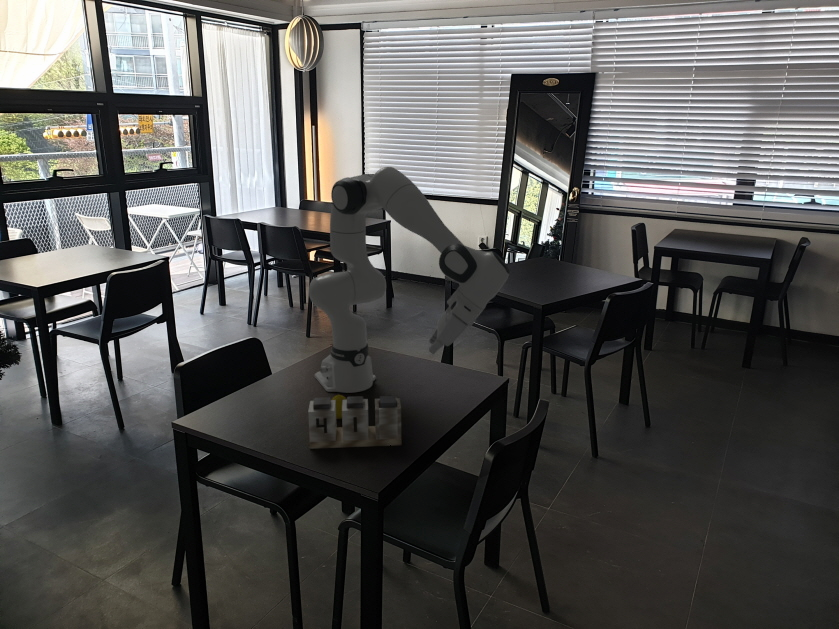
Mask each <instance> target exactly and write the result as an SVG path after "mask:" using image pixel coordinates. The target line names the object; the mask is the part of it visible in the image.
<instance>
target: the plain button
mask: <svg viewBox="0 0 839 629" xmlns="http://www.w3.org/2000/svg"><path fill="white" fill-rule="evenodd" d="M396 398H397V397H396V395H380V396H379V399H380V408H391V407H396Z"/></svg>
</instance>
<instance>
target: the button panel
mask: <svg viewBox="0 0 839 629" xmlns="http://www.w3.org/2000/svg"><path fill="white" fill-rule="evenodd" d="M395 398H396V407H391V408H380V398H374V414H375V415H374V417H375V418H374V422H375V425H370V426H369V400H368V399H369V398H364V396H361V395H359V396H347V397H346V399H347V400H343V402H342V418H341V420H342V422H341V423H342V427H341V426H340V427H339V426H338V425H337V418H336V400H332V399H331V397H330V396H328V397H327V396H326V397H314V398H313V400H310V401H309V406H308V410H307V415H308V433H309V449H311V450H312V449H337V448H360V447H362V448H363V447H387V446H388V447H389V446H390V445H391V446H403V445H402V444H403V443H402V406H401V398H400V397H395ZM337 426H338V427H337ZM391 446H390V447H391Z"/></svg>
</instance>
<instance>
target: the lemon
mask: <svg viewBox="0 0 839 629" xmlns="http://www.w3.org/2000/svg"><path fill="white" fill-rule="evenodd" d="M331 400H336V419H338V420H342V402H343V400H347V397H345V396H344V395H341V394H339V393H338V394H337V395H334V396H333V397H332V398H331Z"/></svg>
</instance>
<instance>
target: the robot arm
mask: <svg viewBox="0 0 839 629" xmlns="http://www.w3.org/2000/svg"><path fill="white" fill-rule="evenodd" d="M330 194H331V196H330V197H331V198H330V199H331V202H332V205H331V209H330V217H329V218H330V219H329V222H330V223H329V226H330V227H329V231H330V233H329V237H330V238H329V240H330V244H329V247H330V248H329V250H330V253H331V255H332V257H334V258H335V259H336V260H337V261H340V262H342V263H345V264H346V266H347V269H346V270H345V271H337V272H331V273H325V274H322V275H319V276H317V277H314V278H312V280H311V282H310V283H309V286H308V296H309V300H310V301H311V303H312V304H313V305H314V306H315V307H317V308H318V309H320V310H321V311H322V312H324V314H326V316H327V318H328V320H329V321H330V325H331V326H330V327H331V332H332V343H331V344H329V345H330V348H331V350H330V354H329V355H327V356H326V357H325V358H324V359H322V361H321V365H320V368H319V369H320V370H318V371H317V372H316V373H314V378H315V379H316V380H317V382H318V383H319V384H320V385H321V386H322V388H323V389H324V390H325V392H329V393H331V392H333V393H334V392H337V393H347V394H348V393H350V394H352V393H359V392H364V391H367V390H369V389H370V388H372V387H373V384H374V381H375V380H376V378H377V377H376V375H375V374H373V372H374V371H373V365H372V364H373V363H372V357H371V356H369V343H368V340H367V338H368V336H367V323H366V321H365V319H364V318H363V317H362V316H360V315H358V314H355V313H353V312H351V310H350V307H351V306H353V305H360V304H367V303H371V302H374V301H377V300H379V299H383V297H384V295H385V293H386V291H387V281H386V278H385V276H384V274H383V273H382V272H381V271H380V270H379V269H377V267H375V266H374V265H373V264H372V262H371V260H370V258H369V256H368V252H367V238H366V236H367V231H366V230H367V228H366V227H367V226H366V223H367V222H366V217H367V214H368V213H371V212H376V211H379V210H384V211H385V212H386V213H387V215H388V216H390V217H391V218H392V219H393V220H394V221H395V222H396V223H398V225H400V226H401V227H402V228H404V229H406V230H408V231H409V232H412V233H413V234H416V235H417V236H420V237H421V238H423V239H424V240H426V241H427V242H429V243H430V245H433V247H435V249H437V251H438V252H439V253H440V254H439V255H440V256H439V259H438V265H439V269H440V271H441V272H442V274H443V275H444V276H445V277H446V278H448V279H450V280H452V281H454V282H456V283H458V287H457V289H456V290H455V291H454V292H453V293H452V295H451V296H450V297H449V298H448V299H447V301H446V304H447V305H448V307H447V308H446V310H445V311H444V312H443V314H442V315H441V316H440V317H439V318H438V320H437V322H436V323H437V325H436V326H437V327H436V329H435V330H434V332H433V334H432V335H431V337H430V338H429V340H428V341H429V343H430V344H431V345H430V347H429V348H428V352H430V354H432V355H435V353H437V351H439V350H440V348H442V347H443V346H446V347H449V346H451V345H452V344H453V343H454V342H455V341H456V340H457V339H458V338H459V337H460V336H461V335H462V334H463V333H464V331H465V330H466V329H467V328H468V326H469V327H471V326H473V324H475V321H476V320H477V318H478V317H479V316H480V315H481V314H482V312H483V311H484V310H485V309H486V306H487V305H488V303H489V302H490V301H491V300H492V299H494V298H495V297H496V295H498V293H499V292H500V290H501V289H502V287H503V286H504V285H505V283H506V282H507V280H508V279H509V276H510V273H511V272H510V268H509V266H508V264H507V263H506V261H504V259H503V258H502V257H500V255H499V254H497V253H496V252H495V251H483V250H479V249H475V248H473V247H470V246H467V245H465V244H463V242H462V241H461V240H460V239H459V238H458V237H457V236H456V235H455V234H454V233H453V232H452V231H451V230H450V229H449V228H448V227H447V226H446V224H445V223H444V222H443V220H442V219H441V218H440V217H439V215H438V214H437V212H436V211H435V209H434V208H433V206H432V205H431V204H430V201H429V200H428V199H427V197H426V196H425V195H424V194H423V192H422V190H420V188H419V187H418V186H417V185H416V184H415V183H414V182H413V181H412V180H411V179H410V178H408V177H407V176H406V175H405V174H404V173H403V172H401V171H400V170H398V169H396V168H394V167H392V166H384V167H382V168H380V169H378V170H377V171H376V172H374V173H364V174H361V175H356V176H355V175H354V176H350V177H344V178H342V179H339V180H337V181H336V182H335V183H334V184H333V186H332V188H331V193H330Z"/></svg>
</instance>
